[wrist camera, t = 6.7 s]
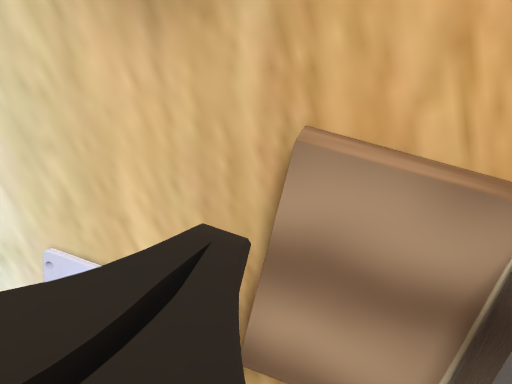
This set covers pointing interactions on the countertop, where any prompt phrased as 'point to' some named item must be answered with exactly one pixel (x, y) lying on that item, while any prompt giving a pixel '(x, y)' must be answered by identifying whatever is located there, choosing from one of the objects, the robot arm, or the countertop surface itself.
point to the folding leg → (491, 346)
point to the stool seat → (376, 266)
